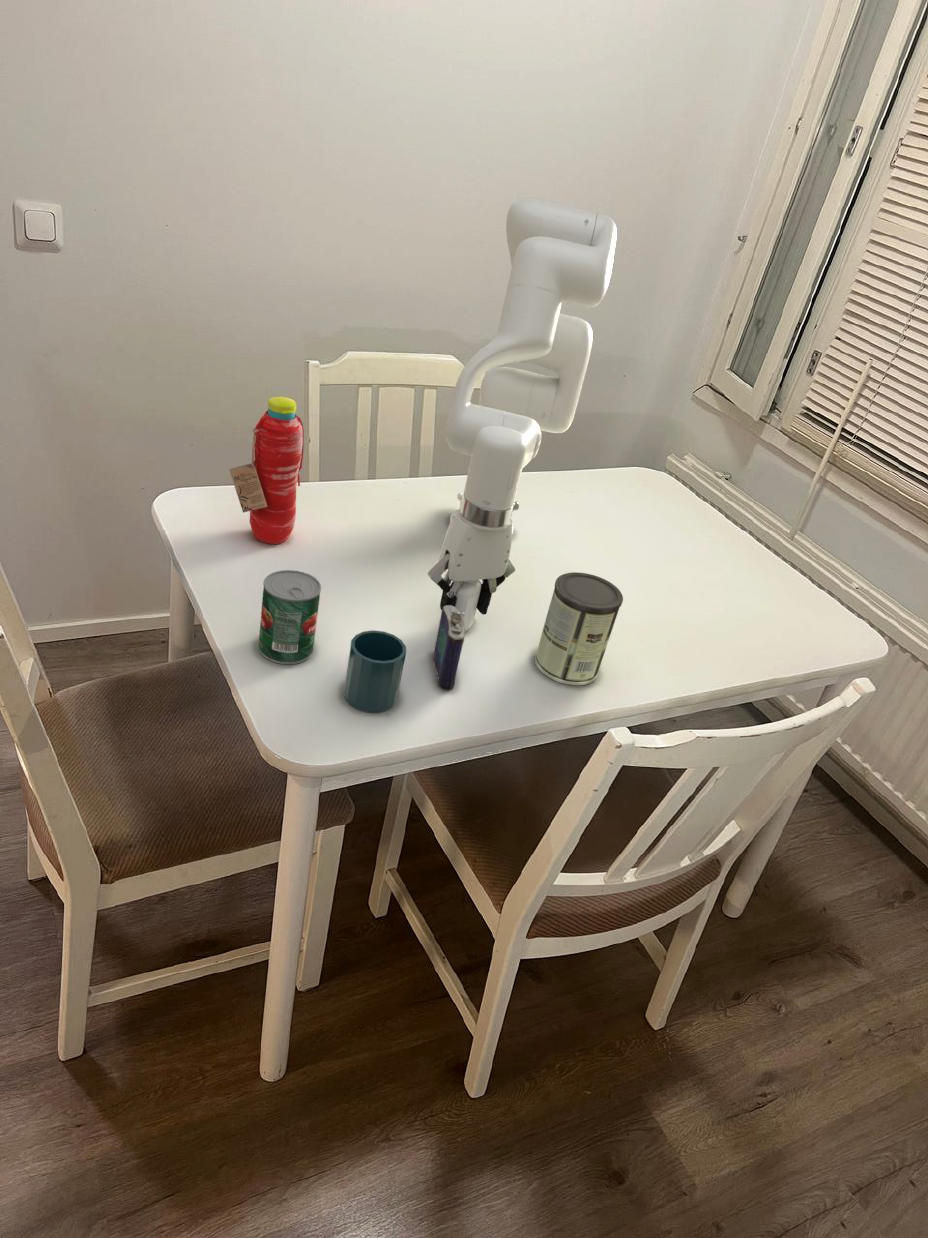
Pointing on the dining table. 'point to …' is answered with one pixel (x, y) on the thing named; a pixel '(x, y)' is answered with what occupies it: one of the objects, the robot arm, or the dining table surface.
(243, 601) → the dining table surface
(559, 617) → the coffee can
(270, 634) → the canned tomato
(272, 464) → the water bottle
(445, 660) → the flask
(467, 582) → the eye dropper bottle
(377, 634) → the teal cup
